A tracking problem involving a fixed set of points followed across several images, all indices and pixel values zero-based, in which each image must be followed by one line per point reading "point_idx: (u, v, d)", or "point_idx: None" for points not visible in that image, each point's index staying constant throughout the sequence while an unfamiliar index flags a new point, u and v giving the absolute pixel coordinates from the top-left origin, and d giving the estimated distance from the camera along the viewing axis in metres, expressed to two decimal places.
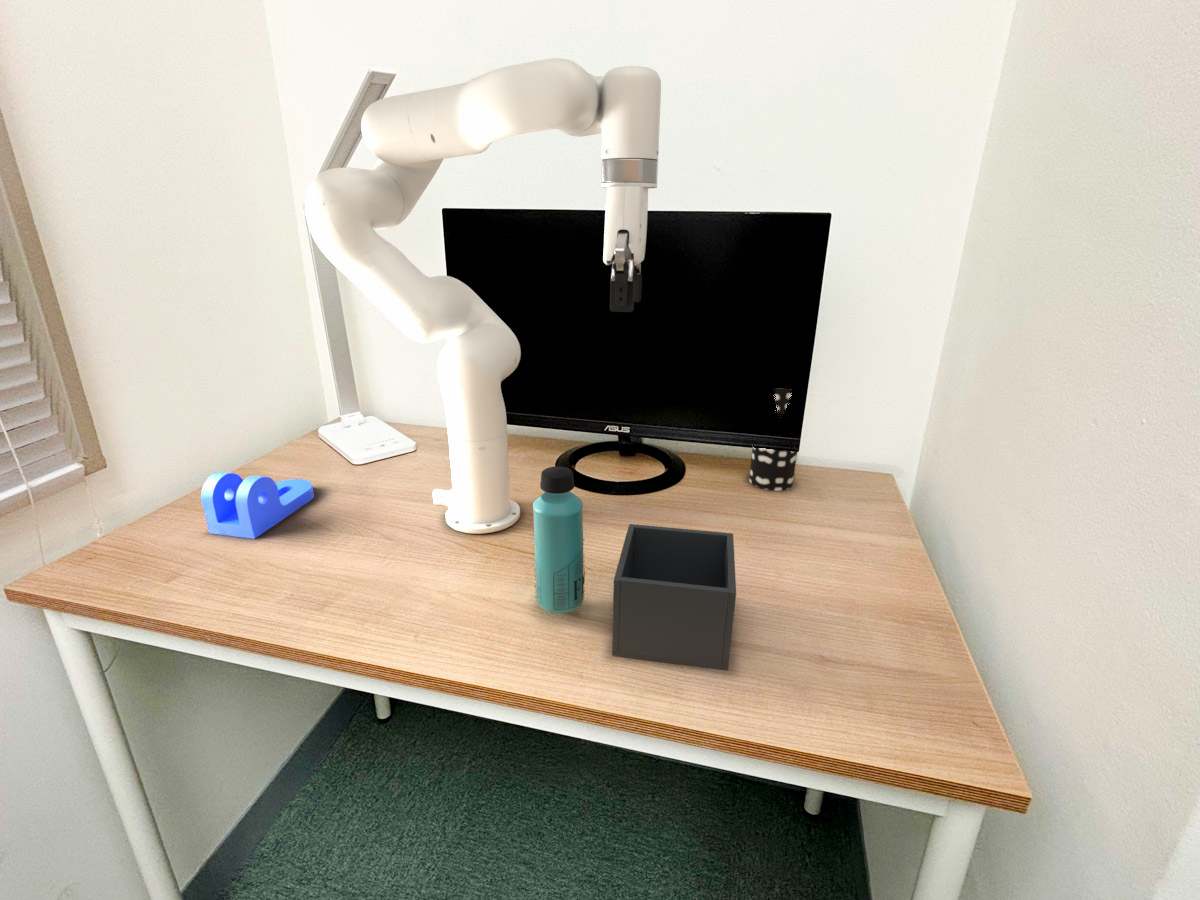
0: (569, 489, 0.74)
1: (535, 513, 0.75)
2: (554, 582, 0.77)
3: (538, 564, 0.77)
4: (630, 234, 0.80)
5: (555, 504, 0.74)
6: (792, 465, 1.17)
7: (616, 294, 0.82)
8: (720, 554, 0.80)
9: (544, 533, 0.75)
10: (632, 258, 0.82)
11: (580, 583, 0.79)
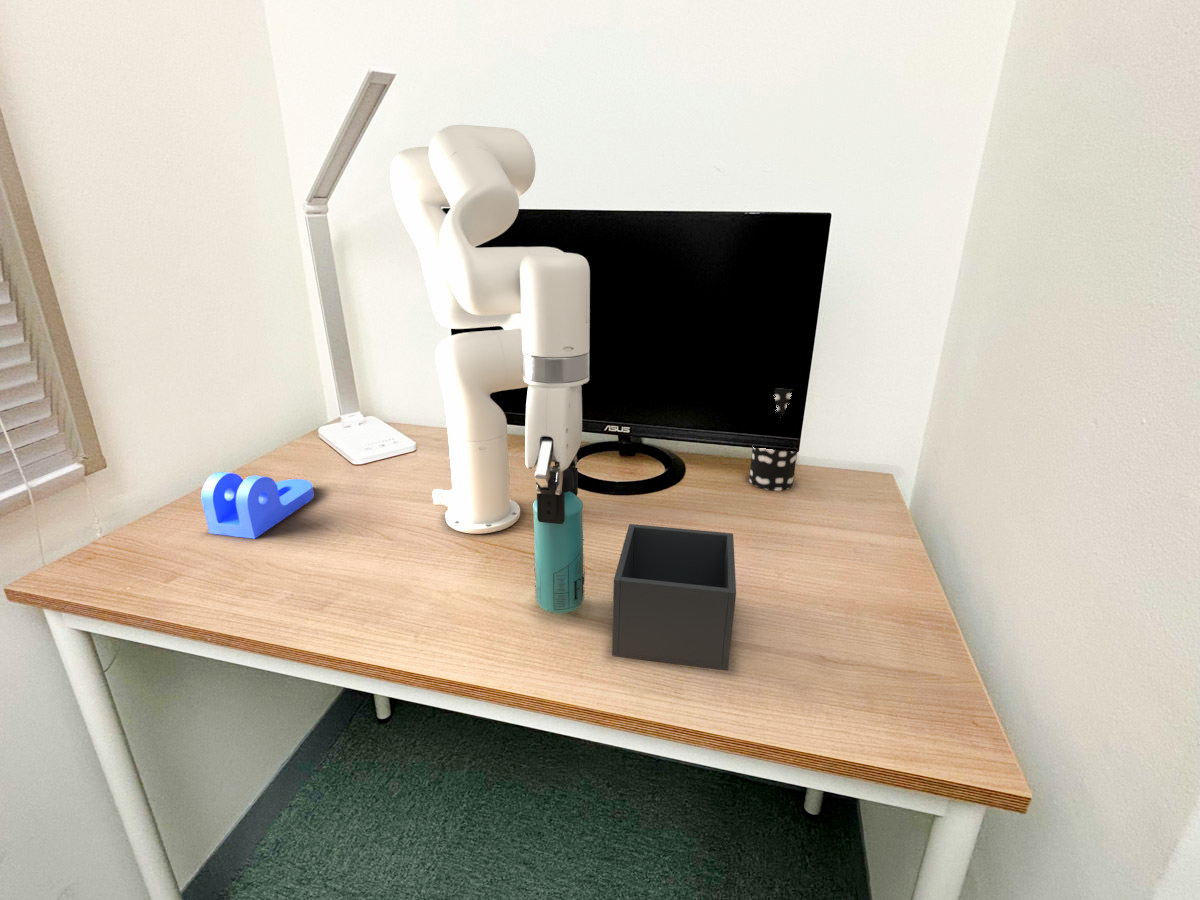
0: (569, 489, 0.74)
1: (535, 513, 0.75)
2: (554, 582, 0.77)
3: (538, 564, 0.77)
4: (554, 441, 0.68)
5: None
6: (792, 465, 1.17)
7: (543, 507, 0.71)
8: (720, 554, 0.80)
9: (544, 533, 0.75)
10: None
11: (580, 583, 0.79)
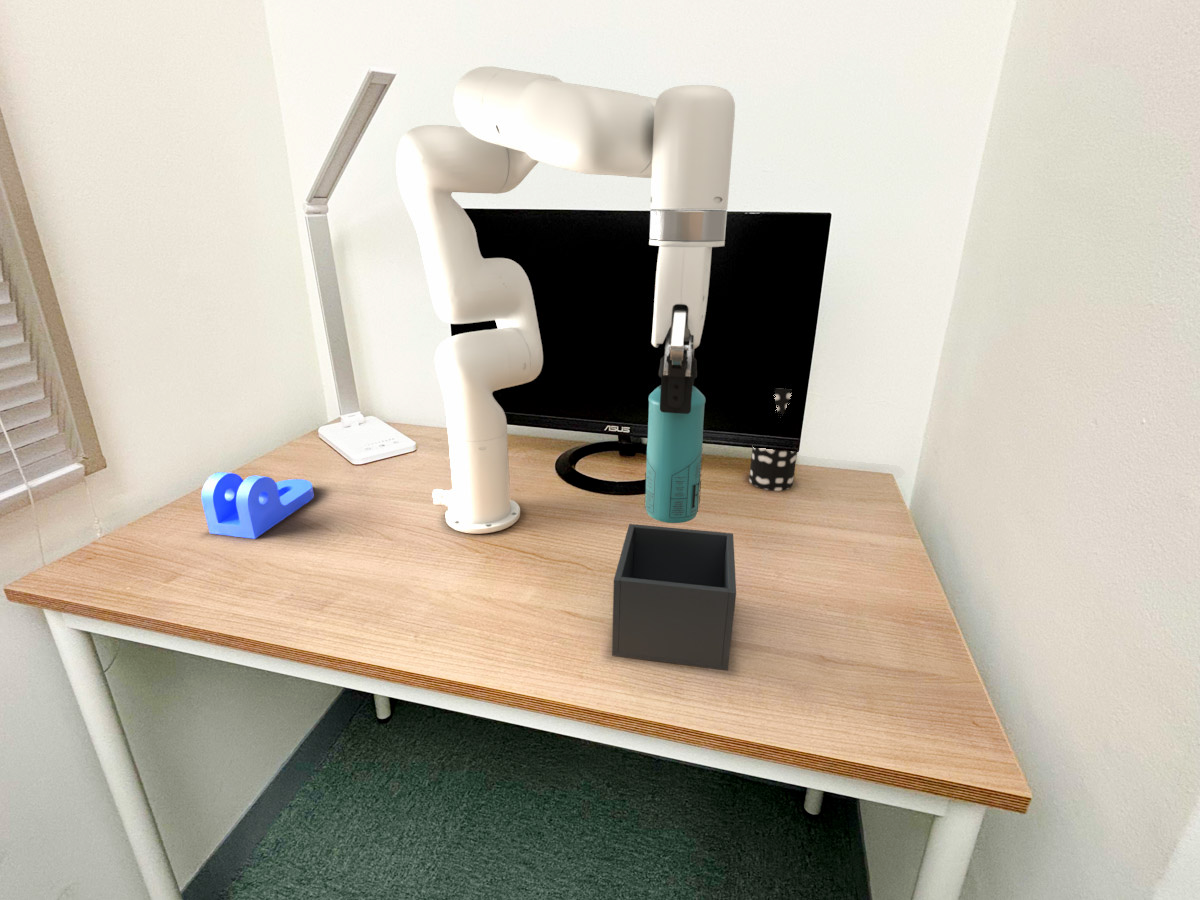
0: (693, 376, 0.66)
1: (654, 405, 0.66)
2: (671, 485, 0.68)
3: (653, 466, 0.69)
4: (690, 310, 0.59)
5: None
6: (792, 465, 1.17)
7: (669, 392, 0.63)
8: (720, 554, 0.80)
9: (664, 427, 0.66)
10: (691, 345, 0.62)
11: (698, 489, 0.70)
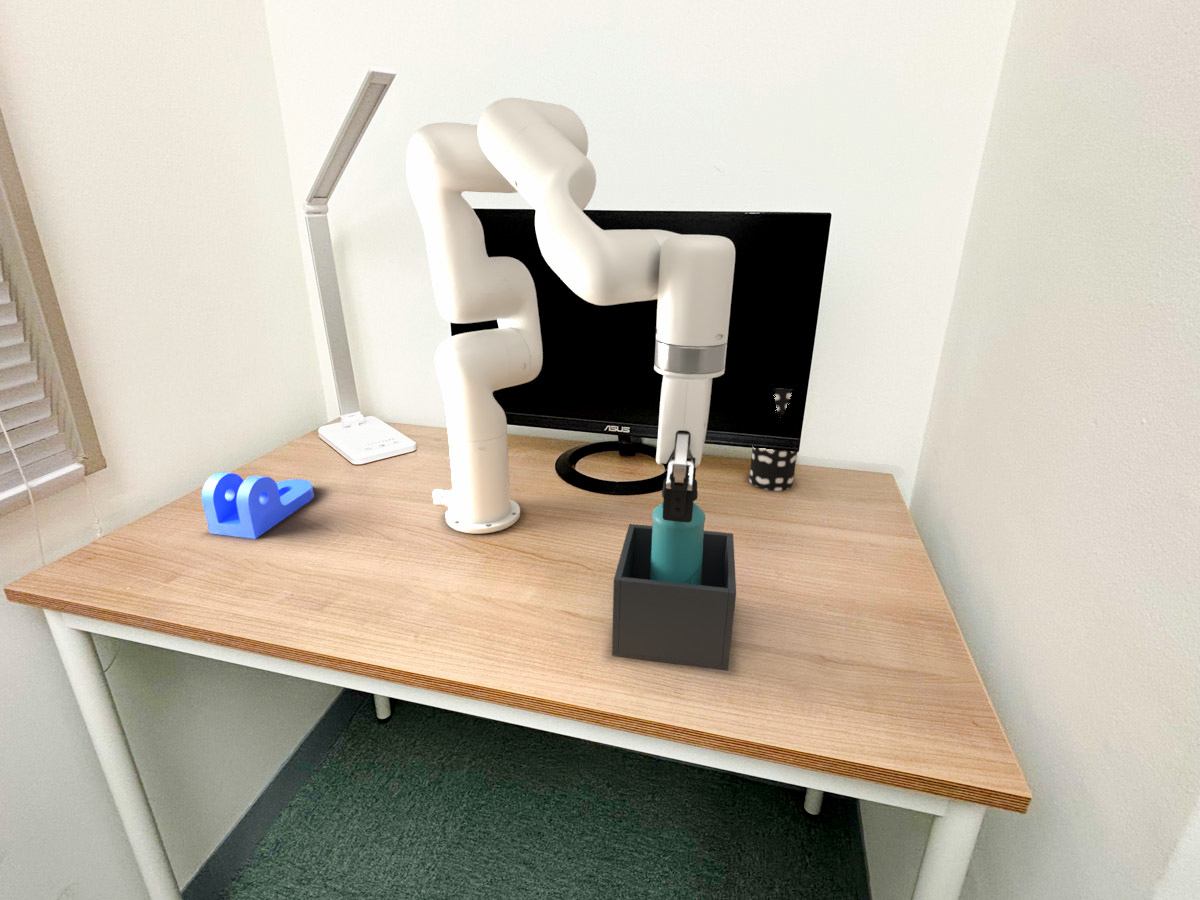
0: (694, 498, 0.71)
1: (657, 524, 0.71)
2: None
3: (656, 577, 0.74)
4: (692, 436, 0.64)
5: None
6: (792, 465, 1.17)
7: (672, 504, 0.66)
8: (720, 554, 0.80)
9: (667, 545, 0.71)
10: (692, 461, 0.66)
11: None
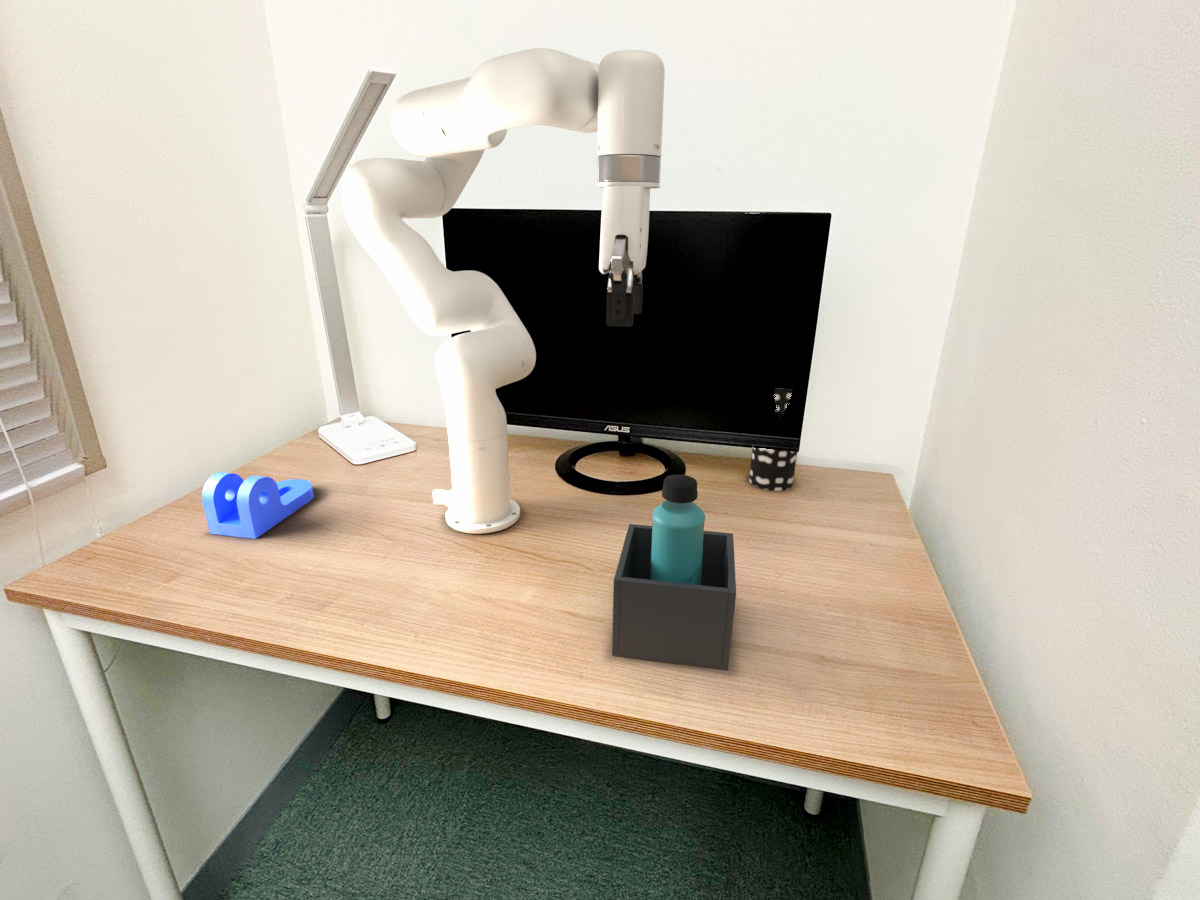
0: (694, 498, 0.71)
1: (657, 524, 0.71)
2: None
3: (656, 577, 0.74)
4: (629, 240, 0.71)
5: (680, 514, 0.70)
6: (792, 465, 1.17)
7: (613, 307, 0.74)
8: (720, 554, 0.80)
9: (667, 545, 0.71)
10: (631, 267, 0.73)
11: None
